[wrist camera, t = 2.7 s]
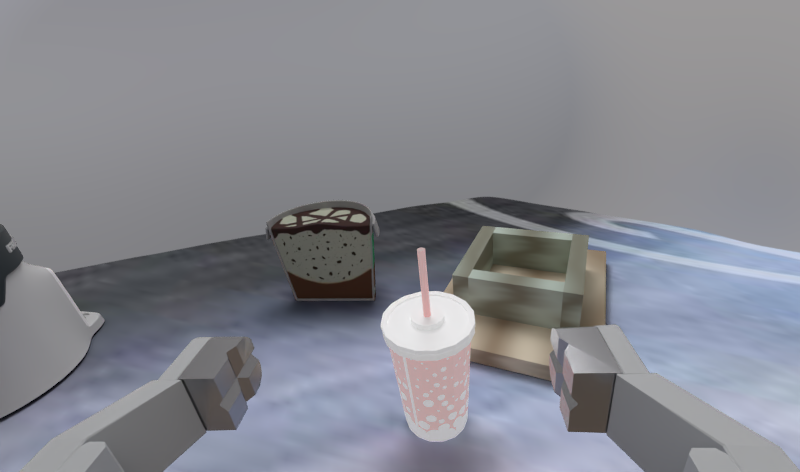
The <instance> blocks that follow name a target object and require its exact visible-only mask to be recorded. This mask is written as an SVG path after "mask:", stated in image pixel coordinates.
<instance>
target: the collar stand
mask: <svg viewBox="0 0 800 472" xmlns="http://www.w3.org/2000/svg"><path fill="white" fill-rule="evenodd" d="M588 239H589V236H588V235H577V234H566V233H555V232H544V231H533V230H522V229H511V228H500V227H489V226H483V227H482V228H481V230H480V231H479V233H478V235H477V236H476V238H475V239H474V241H473V243H472V244H471V246H470V248H469V249H468V251H467V252H466V254H465V256H464V257H463V259H462V260H461V262H460V264H459V265H458V267H457V268H456V270H455V272H454V273H453V275H452V280H451V281H450V283H449V285H448V286H447V288H446V289H445V291H444V293H449V294H453V295H455V296H457V297H459V298H461V299H463V300H465V301H466V302H467V303H468V304H469V306H470V307H471V308H472V309H473V311H474V316H475V334H474V336H473V338H472V340H471V349H470V361H472V362H476V363H480V364H484V365H488V366H492V367H496V368H500V369H504V370H508V371H512V372H516V373H520V374H525V375H529V376H533V377H537V378H541V379H545V380H549V381H551V377H550V368H549V354H550V353H551V352H552V351H553V350H554V349H553V346H552V344H551V341H550V338H551V331H552V328H558V327H586V326H598V325H605V312H606V252H605V251H596V250H588Z"/></svg>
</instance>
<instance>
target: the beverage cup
mask: <svg viewBox="0 0 800 472" xmlns="http://www.w3.org/2000/svg"><path fill="white" fill-rule="evenodd" d="M417 254H418V264H419V274H420V284H421V292H418V293H414V294H410V295H406V296H404V297H402V298H400V299H399V300H397V301H395V302H393V303H392V304H391V305H390V306H389V307H388V308H387V309H386V311H385V312H384V313H383V316H382V321H381V329H382V332H383V337H384V339H385V342H386V344H387V346H388V347H389V348H390V352H391V356H392V361H393V365H394V369H395V373H396V378H397V382H398V386H399V391H400V395H401V399H402V403H403V408H404V412H405V416H406V420H407V423H408V425H409V428H410V430H411V431H412V432H414V433H415V434H416V435H417V436H418V437H419V438H422V439H424V440H427V441H429V442H444V441H447V440H449V439H452V438H455V437H456V436H457V435H458V434H459V433H460V432H461V431H462V430H463V429H464V427H465V424H466V422H467V418H468V395H469V372H470V349H471V340H472V338H473V336H474V334H475V316H474V311H473V309H472V308H471V307H470V306H469V304H468V303H467V302H466V301H465V300H463V299H461V298H459V297H457V296H455V295H453V294H449V293H444V292H439V291H429V288H428V277H427V266H426V255H425V248H418V249H417Z"/></svg>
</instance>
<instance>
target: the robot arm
mask: <svg viewBox="0 0 800 472" xmlns="http://www.w3.org/2000/svg"><path fill="white" fill-rule="evenodd" d="M22 260H23V255H22V254H21V252H20V250H19V249H18V247H17V243H16V241H15V240H14V238H13V237H12V236H11V235H9V233H8V232H7V230H6V229H5V228H4V226H3V225H1V224H0V418H2V417H4V416H6V415H8V414H10V413H11V412H13V411H15V410H17V409H19V408H20V407H22V406H24V405H26V404H27V403H29V402H31V401H32V400H34V399H35V398H37V397H38V396H40V395H41V394H43V393H44V392H46V391H47V390H49V389H50V388H51V387H53V386H54V385H55V384H57V383H58V382H59V381H60V380H62V379H63V378H64V377H65V376H66V375H67V374H69V373H70V372H71V371H72V370H73V369H74V368H75V367H76V366H77V365H78V363H79V362H80V361H81V360H82V359H83V357H84V356H85V354H86V353H87V351H88V349H89V346H90V342H91V338H92V336H93V335H94V334H95V332H96V331H97V330H98V329H99V328H100V327H101V326H102V324H103V323H104V319H103V317H102V316H101V315H100V314H99V313H94V312H82V311H80V310H79V308H78V307H77V306H76V304H75V303H74V301H73V300H72V298H71V297H70V295H69V294H68V292H67V291H66V289H65V288H64V286H63V285H62V283H61V282H60V280H59V279H58V278H57V276H56V275H55V273H54V272H53V271H52V270H51V269H49V268H44V267H41V266H36V265H30V264H27V263H25V262H23V261H22ZM550 341H551V344H552V346H553V349H554V350H553V351H552V352H551V353H550V354H549V368H550V377H551V381H552V385H553V388H554V392H555V393H556V394H557V395H559V396H560V410H561V413H562V416H563V419H564V422H565V424H566V427H567V430H568V432H596V433H607V436H608V437H610V438H611V439H612V440H613V441H614V442H615V443H616V444H617V445H618V446H619V447H620V448H621V449H622V450H623V451H624V452H625V453H626V454H627V455H628V456H629V457H630V458H631V459H632V460H633V461H634V462H635V463H636V464H637V465H638V466H639V467H640V468H641V469H642V470H643V471H645V472H800V470H799V469H798V468H797V467H796V465H795V464H794V463H793V462H792V461H791V460H790V458H789V457H788V456H787V455H786V454H785V452H784V451H783V450H782V449H781V448H780V447H779V446H777V445H775V444H774V443H772V442H770V441H769V440H767V439H765V438H764V437H762V436H760V435H759V434H757V433H755V432H754V431H752V430H750V429H749V428H747V427H745V426H744V425H742V424H740V423H739V422H737V421H735V420H734V419H732V418H730V417H729V416H727V415H725V414H724V413H722V412H720V411H719V410H717V409H715V408H714V407H712V406H710V405H709V404H707V403H705V402H704V401H702V400H700V399H699V398H697V397H695V396H694V395H692V394H690V393H689V392H687V391H685V390H684V389H682V388H680V387H679V386H677V385H675V384H674V383H672V382H670V381H669V380H667V379H665V378H664V377H662V376H660V375H659V374H657V373H649V371H648V370H647V368H646V367H645V365H644V364H643V362H642V361H641V359H640V358H639V356H638V354H637V353H636V351H635V350H634V348H633V347H632V345H631V344H630V342H629V341H628V339H627V338H626V336H625V335H624V333H623V331H622V330H621V328H620V327H619V326H617V325H598V326H586V327H558V328H552V331H551V338H550ZM253 350H254V346H253V343H252V341H251V339H250V338H247V337H198V338H196V339H193V340H192V341H191V342H190V343H189V344H188V346H187V347H186V348H185V349H184V350H183V351H182V353H181V354H180V355H179V356H178V357H177V358H176V359H175V361H174V362H173V363H172V364H171V365H170V366H169V368H168V369H167V370H166V371H165V372H164V373H163V375H162V376H161V377H160V378H159V379H158V380H152V381H150V382H149V383H147V384H145V385H144V386H142V387H140V388H138V389H137V390H135V391H133V392H132V393H130V394H128V395H126V396H125V397H123V398H121V399H120V400H118V401H116V402H115V403H113V404H111V405H109V406H108V407H106V408H104V409H103V410H101V411H99V412H97V413H96V414H94V415H92V416H91V417H89V418H87V419H85V420H84V421H82V422H80V423H79V424H77V425H75V426H73V427H72V428H70V429H68V430H67V431H65V432H63V433H61V434H60V435H58V436H56V437H55V438H53V439H51V440H50V441H49V442H48V443H47V444H46V445H45V446H44V447H43V448H42V449H41V450H40V451H39V452H38V453H37V454H36V455H35V456H34V457H33V458H32V459H31V460H30V461H29V462H28V463H27V464H26V465H25V466H24V467H23V468H22V469H21V470H20V471H19V472H163V471H164V470H165V469H166V468H167V467H168V466H169V465H171V464H172V463H173V462H174V461H175V460H176V459H177V458H178V457H179V456H181V455H182V454H183V453H184V452H185V451H186V450H187V449H188V448H189V447H191V446H192V445H193V444H194V443H195V442H196V441H197V440H198V439H199V438H201V437H202V436H203V435H204V434H205V433H206V431H211V430H237V428H238V426H239V424H240V422H241V420H242V419H243V417H244V415H245V413H246V411H247V409H248V407H247V402H246V401H248V400H249V399H250V398H252V397H253V396H254V395H255V394H256V392H257V390H258V388H259V386H260V382H261V377H262V372H261V365H260V362H259V360H258V359H257V358H255V357H254V356H253V355H252V352H253Z"/></svg>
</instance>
